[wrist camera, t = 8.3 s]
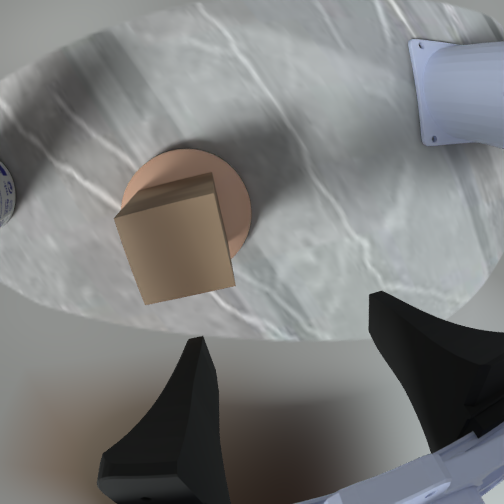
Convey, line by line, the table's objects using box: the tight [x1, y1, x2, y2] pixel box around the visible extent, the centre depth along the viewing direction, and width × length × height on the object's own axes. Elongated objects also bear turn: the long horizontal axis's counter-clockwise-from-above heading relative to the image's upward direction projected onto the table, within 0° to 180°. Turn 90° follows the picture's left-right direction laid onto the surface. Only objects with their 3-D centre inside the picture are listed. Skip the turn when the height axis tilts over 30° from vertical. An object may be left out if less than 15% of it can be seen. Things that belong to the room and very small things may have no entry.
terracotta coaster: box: [121, 148, 251, 259], centre depth 20 cm, size 8×8×1 cm
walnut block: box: [114, 172, 236, 305], centre depth 17 cm, size 4×4×6 cm
